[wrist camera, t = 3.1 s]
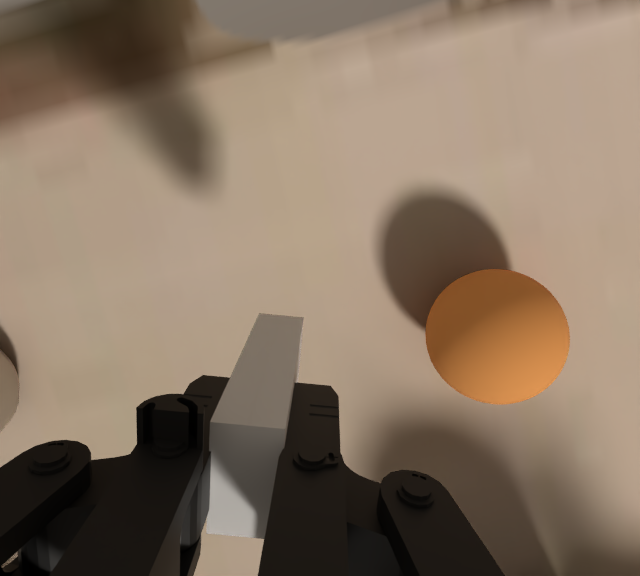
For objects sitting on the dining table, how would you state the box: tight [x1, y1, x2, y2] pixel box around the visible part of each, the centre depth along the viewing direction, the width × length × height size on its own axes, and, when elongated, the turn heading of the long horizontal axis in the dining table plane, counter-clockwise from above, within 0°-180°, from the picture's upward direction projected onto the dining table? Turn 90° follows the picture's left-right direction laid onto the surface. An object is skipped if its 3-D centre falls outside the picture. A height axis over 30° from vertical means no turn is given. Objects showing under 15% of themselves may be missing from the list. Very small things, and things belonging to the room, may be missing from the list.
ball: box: [426, 269, 570, 404], centre depth 21 cm, size 6×6×6 cm
